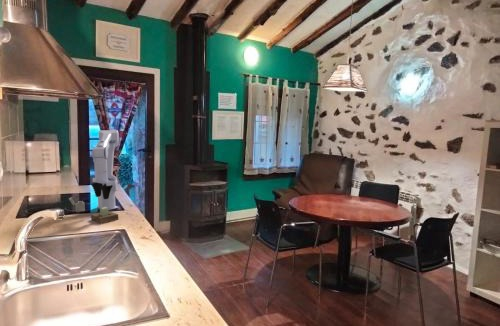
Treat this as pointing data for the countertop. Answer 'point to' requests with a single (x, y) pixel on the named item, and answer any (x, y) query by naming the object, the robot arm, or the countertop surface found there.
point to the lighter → (78, 205)
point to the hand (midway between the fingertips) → (102, 197)
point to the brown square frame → (104, 217)
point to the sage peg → (103, 211)
